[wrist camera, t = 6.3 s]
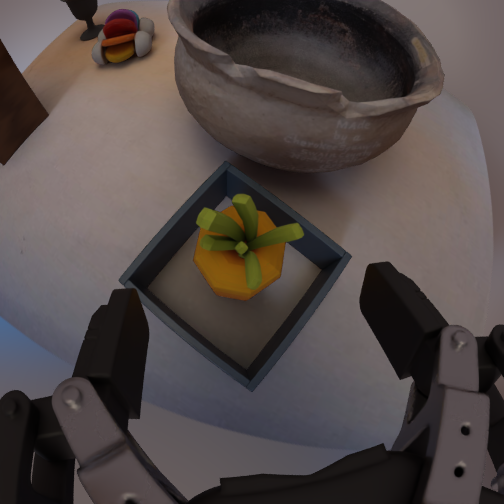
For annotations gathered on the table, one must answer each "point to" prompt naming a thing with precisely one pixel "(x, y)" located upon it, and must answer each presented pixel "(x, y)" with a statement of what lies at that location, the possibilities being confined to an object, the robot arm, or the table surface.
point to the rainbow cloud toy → (123, 37)
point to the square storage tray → (183, 226)
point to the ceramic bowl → (302, 77)
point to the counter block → (16, 107)
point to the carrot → (241, 248)
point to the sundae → (85, 16)
